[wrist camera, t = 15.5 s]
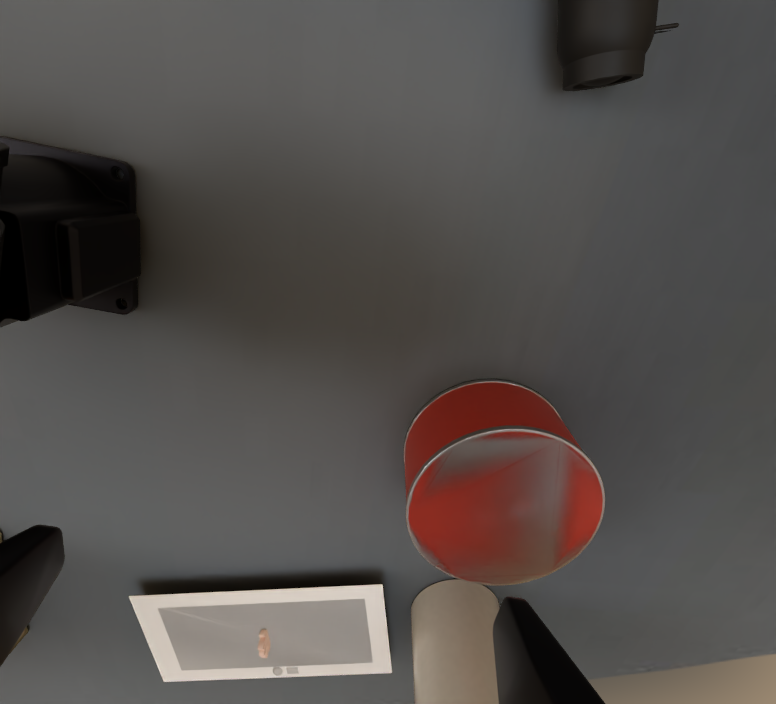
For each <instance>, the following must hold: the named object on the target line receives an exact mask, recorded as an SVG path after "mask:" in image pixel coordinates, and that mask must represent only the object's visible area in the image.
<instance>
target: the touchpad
mask: <svg viewBox="0 0 776 704" xmlns="http://www.w3.org/2000/svg"><path fill="white" fill-rule="evenodd" d="M129 599H130V601H131V603H132V606H133V608H134V611H135V613H136V616H137V618H138V620H139V623H140V625H141V628H142V630H143V632H144V635H145V637H146V640H147V642H148V644H149V647H150V649H151V652H152V654H153V657H154V659H155V661H156V664H157V666H158V669H159V671H160V673H161V676H162V678H163V681H164V682H174V681H200V680H226V679H251V678H277V677H302V676H328V675H353V674H379V673H392V667H391V658H390V649H389V640H388V631H387V621H386V612H385V603H384V594H383V585H382V584H375V585H354V586H332V587H311V588H289V589H268V590H246V591H225V592H203V593H182V594H160V595H139V596H129Z"/></svg>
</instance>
